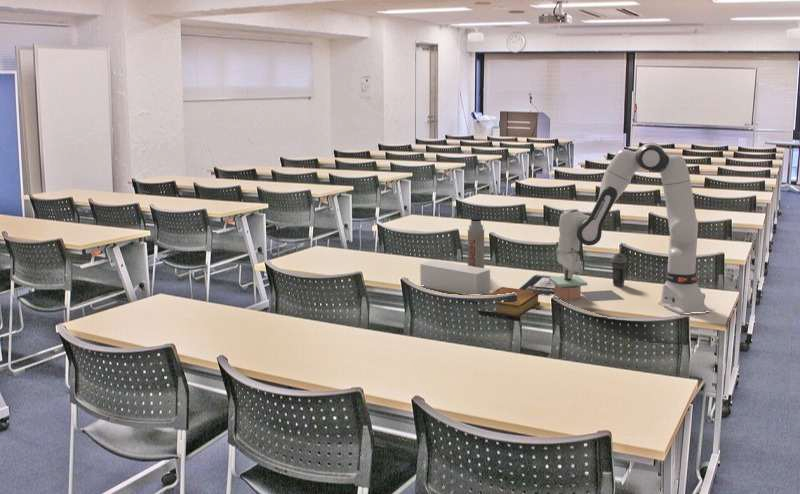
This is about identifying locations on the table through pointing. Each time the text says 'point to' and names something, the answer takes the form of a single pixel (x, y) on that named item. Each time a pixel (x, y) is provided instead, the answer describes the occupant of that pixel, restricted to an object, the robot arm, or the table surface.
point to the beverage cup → (619, 269)
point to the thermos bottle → (476, 243)
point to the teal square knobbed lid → (567, 281)
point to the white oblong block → (455, 277)
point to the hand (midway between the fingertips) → (568, 277)
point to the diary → (516, 302)
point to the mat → (601, 295)
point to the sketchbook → (540, 285)
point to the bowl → (568, 292)
